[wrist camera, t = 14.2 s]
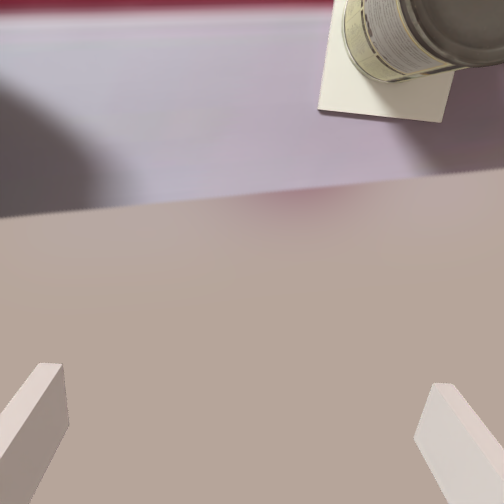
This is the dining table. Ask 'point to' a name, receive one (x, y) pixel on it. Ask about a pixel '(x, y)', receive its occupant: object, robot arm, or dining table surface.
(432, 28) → the coffee can
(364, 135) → the dining table surface
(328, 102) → the mount pad
